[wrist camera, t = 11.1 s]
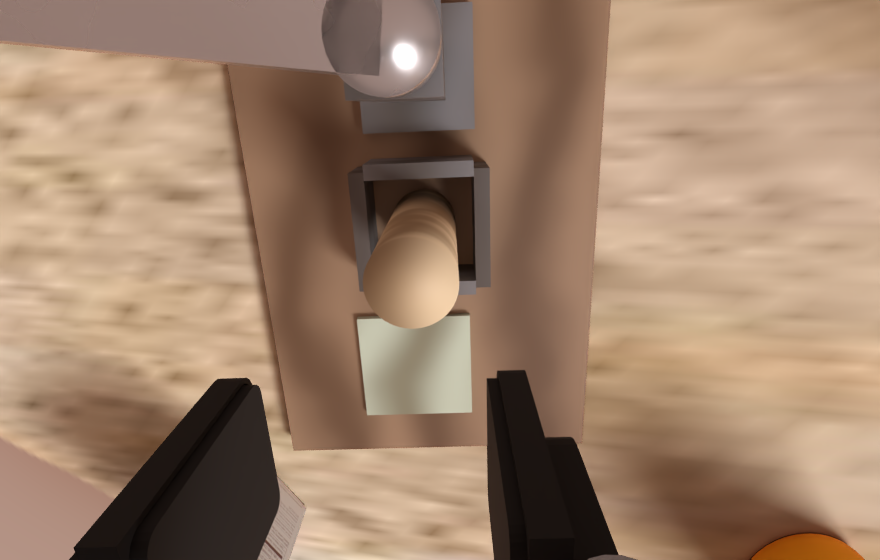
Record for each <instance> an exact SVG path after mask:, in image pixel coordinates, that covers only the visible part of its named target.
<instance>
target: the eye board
mask: <svg viewBox="0 0 880 560" xmlns="http://www.w3.org/2000/svg"><path fill="white" fill-rule="evenodd" d="M433 1H434V3H435V5H436V8H437V11H438V15H439V19H440V27H441V38H442V47H441V54H440V58H439V62H438V64H437V67H436V69H435V71H434V73H433V74H432V76H431V77H430V79H429V80H428V81H427V82H426V83H425V84H424V85H423V86H422V87H421V88H419V89H418V90H417V91H415V92H413V93H411V94H409V95H406V96H403V97H398V98H383V97H376V96H370V95H367V94H364V93H362V92H359V91H357V90H356V89H354V88H352V87H351V86H349V85H348V84H347V83H346V82H344V81H343V80H342V79H341V77H340V76H339V75H331V74H321V73H310V72H299V71H289V70H278V69H268V68H257V67H246V66H236V65H227V66H228V72H229V78H230V84H231V89H232V95H233V101H234V107H235V113H236V118H237V124H238V130H239V136H240V142H241V147H242V153H243V159H244V165H245V171H246V177H247V182H248V188H249V194H250V200H251V206H252V211H253V217H254V223H255V229H256V235H257V240H258V246H259V252H260V258H261V264H262V269H263V275H264V281H265V287H266V293H267V298H268V304H269V310H270V316H271V322H272V327H273V333H274V339H275V345H276V351H277V356H278V362H279V368H280V374H281V380H282V385H283V391H284V397H285V403H286V409H287V414H288V420H289V426H290V432H291V438H292V443H293V449H294V451H296V450H336V449H375V448H414V447H453V446H487V378H497V371H501V370H525V371H526V374H527V377H528V381H529V384H530V388H531V391H532V394H533V398H534V401H535V405H536V408H537V411H538V415H539V418H540V422H541V425H542V429H543V432H544V435H545V437H572V438H573V439H574V440H575V442H576V443H582V435H583V420H584V405H585V389H586V374H587V358H588V343H589V327H590V312H591V296H592V281H593V266H594V250H595V235H596V219H597V204H598V188H599V173H600V158H601V142H602V127H603V111H604V96H605V80H606V65H607V50H608V34H609V19H610V3H611V0H433ZM419 189H428V190H433V191H436V192H438V193H440V194H441V195H443V196H444V197H445V198H446V199H447V200H448V201H449V202H450V204H451V206H452V208H453V210H454V214H455V225H456V240H457V256H458V271H459V292H458V296H457V299H456V302H455V304H454V306H453V307H452V309H451V310H450V312H449V313H448V314H447V315H446V316H445V317H444V318H442V319H441V320H440V321H438V322H436V323H434V324H432V325H430V326H427V327H423V328H416V329H408V328H401V327H398V326H394V325H392V324H390V323H388V322H386V321H384V320H383V319H382V318H380V317H379V316H378V315H377V314H376V313H375V312H374V311H373V310H372V308H371V307H370V305H369V304H368V302H367V300H366V297H365V294H364V290H363V274H364V270H365V267H366V265H367V263H368V261H369V259H370V257H371V255H372V253H373V251H374V249H375V247H376V245H377V243H378V241H379V239H380V237H381V235H382V233H383V231H384V229H385V227H386V226H387V224H388V222H389V220H390V218H391V216H392V214H393V212H394V210H395V208H396V206H397V204H398V203H399V201H400V200H401V199H402V198H403V197H404V196H405V195H407V194H408V193H410V192H412V191H415V190H419Z"/></svg>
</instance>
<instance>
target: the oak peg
mask: <svg viewBox="0 0 880 560" xmlns="http://www.w3.org/2000/svg"><path fill="white" fill-rule="evenodd" d="M363 290H364V294H365V297H366V300H367V302H368V304H369V305H370V307H371V308H372V310H373V311H374V312H375V313H376V314H377V315H378V316H379V317H380V318H382V319H383V320H384V321H386V322H388V323H390V324H392V325H394V326H398V327H401V328H408V329H416V328H423V327H427V326H430V325H432V324H434V323H436V322H438V321H440V320H441V319H442V318H444V317H445V316H446V315H447V314H448V313H449V312H450V310H451V309H452V307H453V306H454V304H455V302H456V299H457V296H458V292H459V271H458V256H457V240H456V225H455V214H454V210H453V208H452V206H451V204H450V202H449V201H448V200H447V199H446V198H445V197H444V196H443V195H441V194H440V193H438V192H436V191H433V190H428V189H419V190H415V191H412V192H410V193H408V194H407V195H405V196H404V197H403V198H402V199H401V200H400V201H399V203H398V204H397V206H396V208H395V210H394V212H393V214H392V216H391V218H390V220H389V222H388V224H387V226H386V227H385V229H384V231H383V233H382V235H381V237H380V239H379V241H378V243H377V245H376V247H375V249H374V251H373V253H372V255H371V257H370V259H369V261H368V263H367V265H366V267H365V270H364V274H363Z"/></svg>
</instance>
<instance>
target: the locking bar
mask: <svg viewBox="0 0 880 560" xmlns="http://www.w3.org/2000/svg"><path fill="white" fill-rule="evenodd" d="M0 43H2V44H13V45H23V46H34V47H44V48H55V49H66V50H76V51H87V52H98V53H108V54H119V55H129V56H140V57H151V58H161V59H172V60H183V61H193V62H204V63H214V64H225V65H236V66H246V67H257V68H268V69H278V70H289V71H299V72H310V73H321V74H331V75H339V76H340V77H341V79H342V80H343V81H344V82H346V83H347V84H348V85H349V86H351V87H352V88H354V89H356V90H357V91H359V92H362V93H364V94H367V95H370V96H376V97H383V98H398V97H403V96H406V95H409V94H411V93H413V92H415V91H417V90H418V89H419V88H421V87H422V86H423V85H424V84H425V83H426V82H427V81H428V80H429V79H430V77H431V76H432V74H433V73H434V71H435V69H436V67H437V64H438V62H439V58H440V54H441V47H442V38H441V27H440V19H439V15H438V11H437V8H436V5H435V3H434V1H433V0H0Z"/></svg>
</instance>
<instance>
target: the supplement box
mask: <svg viewBox="0 0 880 560" xmlns="http://www.w3.org/2000/svg"><path fill="white" fill-rule="evenodd" d="M277 479H278V484H279V490H280V504H279V509H278V512H277V514H276V517H275V519H274V521H273V524H272V526H271V529H270V531H269V533H268V536H267V538H266V540H265V543H264V545H263V548H262V550H261V552H260V555H259V557H258V559H257V560H289V559H290V556H291V553H292V550H293V547H294V544H295V541H296V538H297V535H298V532H299V529H300V526H301V523H302V520H303V517H304V515H305V511H306V507H305V506H304V505H303V503H302V502H301V501H300V500H299V499H298V498H297V497H296V496H295V495H294V494H293V493H292V492H291V490H290V489H289V488H288V487H287V486H286V485H285V484H284V483H283V482H282V481H281V480H280V479H279V478H278V477H277Z"/></svg>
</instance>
